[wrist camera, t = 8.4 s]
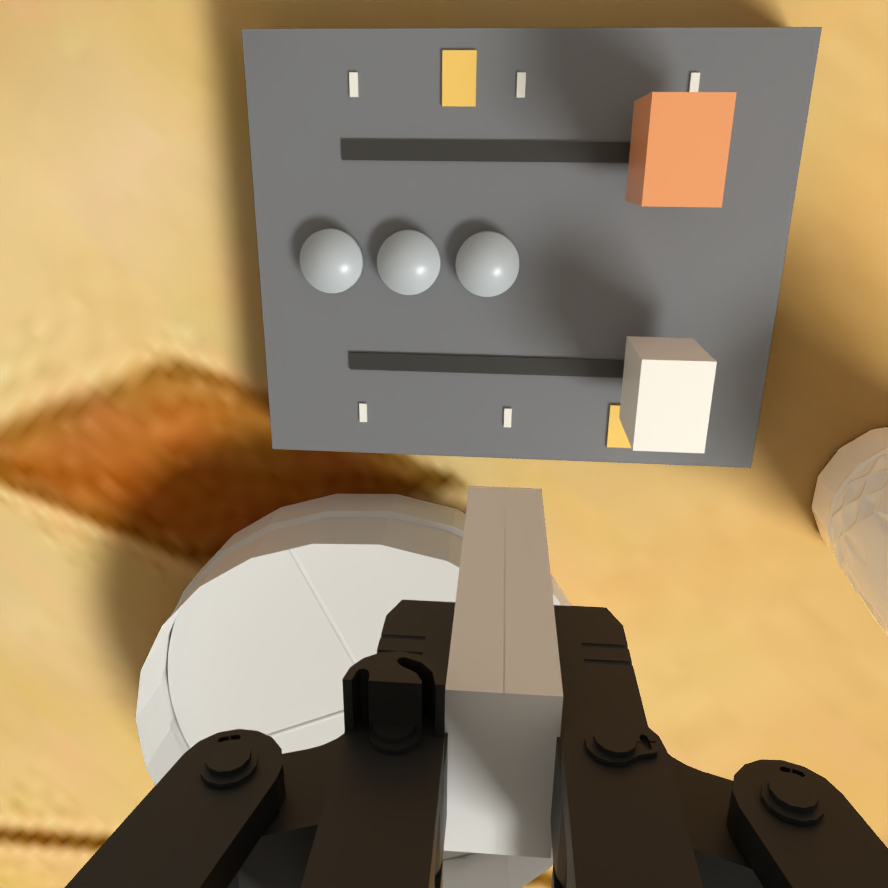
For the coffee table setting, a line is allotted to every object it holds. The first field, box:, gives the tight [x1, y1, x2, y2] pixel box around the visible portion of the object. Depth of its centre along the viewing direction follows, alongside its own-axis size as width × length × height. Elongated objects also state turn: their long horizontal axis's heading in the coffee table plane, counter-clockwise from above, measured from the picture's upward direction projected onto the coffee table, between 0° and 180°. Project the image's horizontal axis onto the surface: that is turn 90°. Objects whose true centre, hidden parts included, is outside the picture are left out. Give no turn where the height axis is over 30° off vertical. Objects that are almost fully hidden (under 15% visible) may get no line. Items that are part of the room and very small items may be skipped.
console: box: [242, 27, 822, 468], centre depth 30 cm, size 20×16×3 cm
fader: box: [625, 92, 737, 208], centre depth 25 cm, size 2×3×5 cm
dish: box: [136, 494, 572, 888], centre depth 38 cm, size 22×22×5 cm
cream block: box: [619, 336, 717, 453], centre depth 28 cm, size 2×3×5 cm
